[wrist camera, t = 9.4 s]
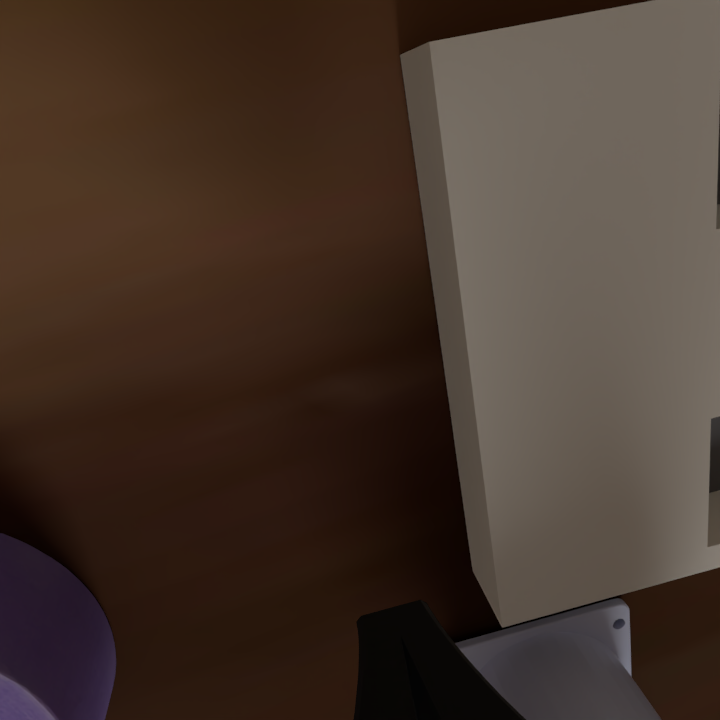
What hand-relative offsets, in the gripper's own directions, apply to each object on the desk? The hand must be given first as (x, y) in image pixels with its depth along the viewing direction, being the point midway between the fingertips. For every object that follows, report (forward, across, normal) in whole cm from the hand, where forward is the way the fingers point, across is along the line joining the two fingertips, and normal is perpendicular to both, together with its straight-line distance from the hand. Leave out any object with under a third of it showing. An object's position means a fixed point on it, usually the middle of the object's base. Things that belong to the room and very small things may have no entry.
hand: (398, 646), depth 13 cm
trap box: (+9, -15, -2) cm, 18 cm away
